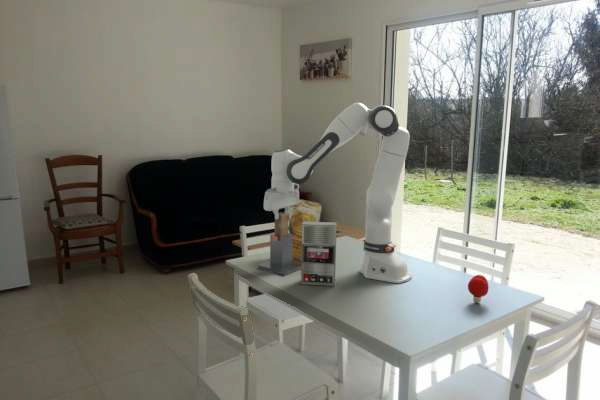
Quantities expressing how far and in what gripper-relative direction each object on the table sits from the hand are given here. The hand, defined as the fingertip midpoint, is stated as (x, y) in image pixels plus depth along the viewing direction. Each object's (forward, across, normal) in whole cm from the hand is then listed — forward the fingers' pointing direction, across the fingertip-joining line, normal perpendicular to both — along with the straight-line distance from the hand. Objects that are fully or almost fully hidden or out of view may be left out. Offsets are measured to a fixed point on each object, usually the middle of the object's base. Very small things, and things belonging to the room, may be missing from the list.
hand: (281, 217), depth 203 cm
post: (+18, 0, 0) cm, 18 cm away
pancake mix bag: (+23, +18, +2) cm, 29 cm away
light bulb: (+24, +16, -81) cm, 86 cm away
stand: (+23, 0, 0) cm, 23 cm away
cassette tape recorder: (+23, -5, -24) cm, 34 cm away
